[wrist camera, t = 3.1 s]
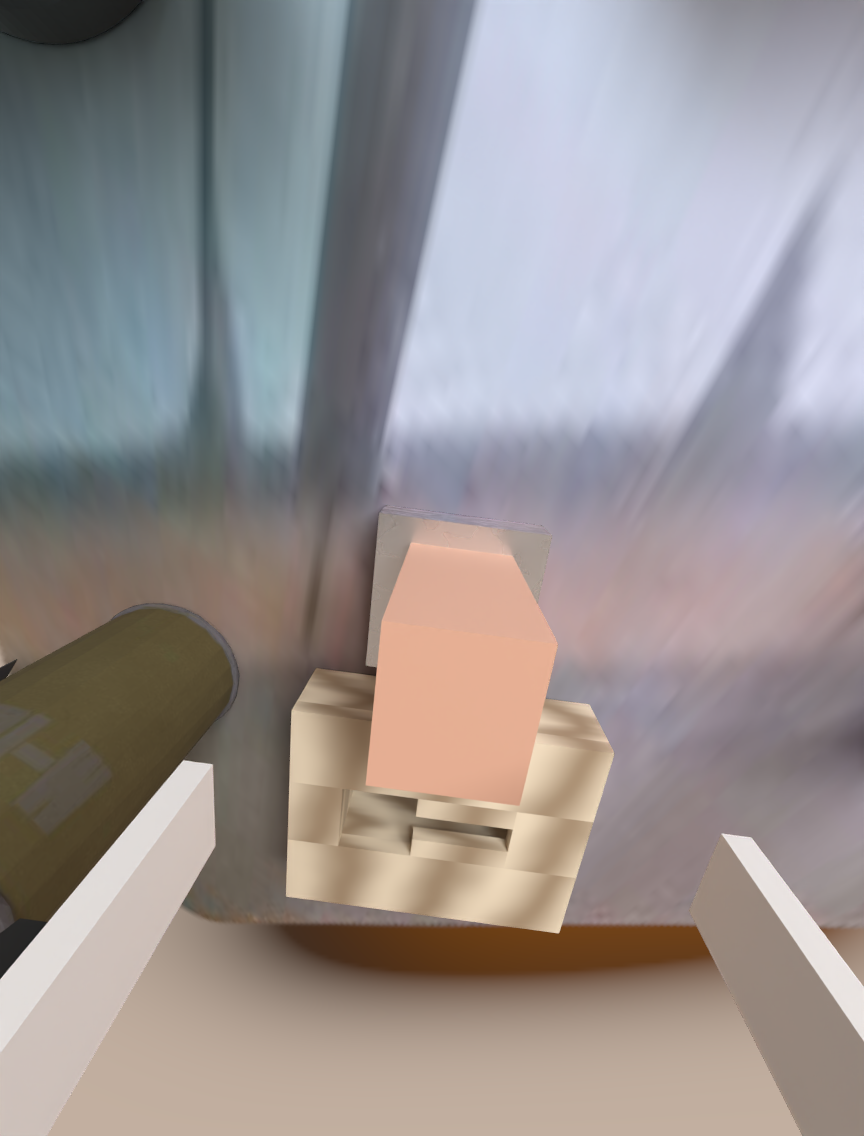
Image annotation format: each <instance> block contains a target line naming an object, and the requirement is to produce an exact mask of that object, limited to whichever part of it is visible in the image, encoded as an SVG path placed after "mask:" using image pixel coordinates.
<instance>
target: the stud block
mask: <svg viewBox="0 0 864 1136" xmlns="http://www.w3.org/2000/svg"><path fill="white" fill-rule="evenodd" d="M557 647H558V643H557V641H556V639H555V637H554V635H553V633H552V631H551V629H550V627H549V625H548V623H547V622H546V620H545V618H544V616H543V614H542V612H541V610H540V608H539V606H538V604H537V602H536V600H535V598H534V596H533V594H532V592H531V590H530V588H529V587H528V585H527V583H526V581H525V579H524V577H523V575H522V573H521V571H520V569H519V567H518V565H517V563H516V561H515V559H514V557H513V556H509V555H501V554H493V553H486V552H478V551H471V550H463V549H456V548H448V547H440V546H433V545H425V544H418V543H411V544H410V546H409V549H408V552H407V554H406V557H405V560H404V562H403V565H402V568H401V570H400V573H399V576H398V578H397V581H396V584H395V587H394V589H393V592H392V595H391V597H390V600H389V603H388V605H387V608H386V611H385V613H384V616H383V619H382V623H381V633H380V643H379V653H378V664H377V674H376V684H375V694H374V705H373V715H372V725H371V735H370V746H369V756H368V766H367V776H366V785H367V786H374V787H382V788H389V789H397V790H404V791H412V792H419V793H427V794H434V795H441V796H449V797H456V798H464V799H471V800H479V801H486V802H494V803H501V804H509V805H516V806H520V802H521V798H522V794H523V789H524V785H525V781H526V777H527V773H528V769H529V764H530V760H531V756H532V752H533V748H534V743H535V739H536V735H537V731H538V727H539V722H540V718H541V714H542V710H543V706H544V702H545V697H546V693H547V689H548V685H549V681H550V676H551V672H552V668H553V664H554V660H555V655H556V651H557Z"/></svg>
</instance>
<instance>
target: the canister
mask: <svg viewBox="0 0 864 1136" xmlns="http://www.w3.org/2000/svg"><path fill="white" fill-rule="evenodd" d="M16 661H17V659H16V660H14V661H12V662H10V663H8V664H6V665H4V666H2V667H1V668H0V933H1V932H2V931H4V930H5V929H6V928H8V927H9V926H10V925H12V924H13V923H14V922H16V921H17V920H18V919H20V918H22V919H30V920H37V921H44V922H48V921H49V920H50V919H51V918H52V917H53V915H54V914H55V913H56V912H57V911H58V909H59V908H60V907H61V906H62V905H63V903H64V902H65V901H66V900H67V899H68V897H69V896H70V895H71V894H72V893H73V891H74V890H75V889H76V888H77V887H78V885H79V884H80V883H81V882H82V880H83V879H84V878H85V877H86V876H87V874H88V873H89V872H90V871H91V870H92V868H93V867H94V866H95V865H96V864H97V862H98V861H99V860H100V859H101V858H102V856H103V855H104V854H105V853H106V852H107V850H108V849H109V848H110V847H111V846H112V844H113V843H114V842H115V841H116V839H117V838H118V837H119V836H120V835H121V833H122V832H123V831H124V830H125V829H126V827H127V826H128V825H129V824H130V823H131V821H132V820H133V819H134V818H135V817H136V815H137V814H138V813H139V812H140V811H141V809H142V808H143V807H144V806H145V805H146V803H147V802H148V801H149V800H150V798H151V797H152V796H153V795H154V794H155V792H156V791H157V790H158V789H159V788H160V786H161V785H162V784H163V783H164V782H165V780H166V779H167V778H168V777H169V776H170V774H171V773H172V772H173V771H174V770H175V768H176V767H177V766H178V765H179V764H180V762H181V761H182V760H183V759H184V757H185V756H186V755H187V754H188V753H189V751H190V750H191V749H192V748H193V747H194V745H195V744H196V743H197V742H198V741H199V739H200V738H201V737H202V736H203V735H204V733H205V732H206V731H207V730H208V729H209V727H210V726H211V725H212V724H213V723H214V722H215V721H216V720H218V719H219V718H221V717H222V716H223V715H224V714H225V713H226V712H227V711H228V710H229V708H230V706H231V705H232V703H233V701H234V699H235V698H236V694H237V689H238V683H239V672H238V667H237V663H236V660H235V657H234V655H233V652H232V650H231V648H230V646H229V645H228V643H227V642H226V640H225V639H224V637H223V636H222V635H221V634H220V633H219V632H218V631H217V630H216V629H215V628H213V627H212V626H211V625H210V624H209V623H207V622H206V621H205V620H204V619H202V618H201V617H200V616H198V615H196V614H194V613H192V612H190V611H188V610H186V609H183V608H180V607H177V606H172V605H167V604H141V605H136V606H133V607H130V608H128V609H126V610H124V611H122V612H120V613H118V614H117V615H115V616H114V617H113V618H112V619H111V620H110V621H109V622H108V623H106V624H104V625H102V626H101V627H99V628H97V629H95V630H93V631H91V632H89V633H88V634H86V635H84V636H82V637H80V638H78V639H77V640H75V641H73V642H71V643H69V644H67V645H66V646H64V647H62V648H60V649H58V650H56V651H55V652H53V653H51V654H49V655H47V656H45V657H44V658H42V659H40V660H38V661H36V662H34V663H33V664H31V665H29V666H27V667H25V668H23V669H22V670H20V671H18V672H16V673H14V674H12V675H10V676H9V677H7V676H8V674H9V672H10V671H11V669H12V667H13V666H14V664H15V662H16ZM6 677H7V678H6Z"/></svg>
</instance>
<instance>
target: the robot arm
mask: <svg viewBox="0 0 864 1136" xmlns="http://www.w3.org/2000/svg"><path fill="white" fill-rule="evenodd" d="M141 1H142V0H0V31H2V32H4V33H7V34H9V35H12V36H15V37H17V38H21V39H24V40H28V41H33V42H38V43H47V44H65V43H73V42H78V41H82V40H86V39H89V38H91V37H94V36H97V35H99V34H101V33H103V32H105V31H107V30H108V29H110V28H112V27H113V26H115V25H116V24H118V23H119V22H120V21H121V20H123V19H124V18H125V17H126V16H127V15H128V14H129V13H131V12H132V11H133V10H134V9H135V7H136V6H137V5H138V4H139V3H140V2H141ZM214 847H215V817H214V785H213V764H206V763H199V762H192V761H184V760H183V761H182V763H181V764H180V765H179V766H178V767H177V769H176V770H175V771H174V772H173V773H172V775H171V776H170V777H169V778H168V779H167V781H166V782H165V783H164V784H163V785H162V787H161V788H160V789H159V790H158V791H157V793H156V794H155V795H154V796H153V797H152V798H151V800H150V801H149V802H148V803H147V804H146V806H145V807H144V808H143V809H142V810H141V812H140V813H139V814H138V815H137V816H136V818H135V819H134V820H133V821H132V822H131V824H130V825H129V826H128V827H127V828H126V830H125V831H124V832H123V833H122V834H121V836H120V837H119V838H118V839H117V840H116V842H115V843H114V844H113V845H112V846H111V847H110V849H109V850H108V851H107V852H106V853H105V855H104V856H103V857H102V858H101V859H100V861H99V862H98V863H97V864H96V865H95V867H94V868H93V869H92V870H91V871H90V873H89V874H88V875H87V876H86V877H85V879H84V880H83V881H82V882H81V883H80V885H79V886H78V887H77V888H76V889H75V891H74V892H73V893H72V894H71V895H70V896H69V898H68V899H67V900H66V901H65V902H64V904H63V905H62V906H61V907H60V908H59V910H58V911H57V912H56V913H55V914H54V916H53V917H52V918H51V919H50V920H49V922H44V921H37V920H30V919H22V918H20V919H18V920H17V921H16V922H14V923H13V924H12V925H10V926H9V927H8V928H6V929H5V930H4V931H2V932H1V933H0V1136H47V1134H48V1133H49V1131H50V1129H51V1128H52V1126H53V1124H54V1122H55V1121H56V1119H57V1117H58V1115H59V1114H60V1112H61V1110H62V1109H63V1107H64V1105H65V1103H66V1102H67V1100H68V1098H69V1097H70V1094H71V1093H72V1091H73V1089H74V1088H75V1086H76V1084H77V1083H78V1081H79V1079H80V1078H81V1076H82V1074H83V1073H84V1071H85V1069H86V1067H87V1066H88V1064H89V1062H90V1060H91V1059H92V1057H93V1055H94V1054H95V1052H96V1050H97V1048H98V1047H99V1045H100V1043H101V1042H102V1040H103V1038H104V1036H105V1035H106V1033H107V1031H108V1030H109V1028H110V1026H111V1024H112V1023H113V1021H114V1019H115V1017H116V1016H117V1014H118V1012H119V1010H120V1009H121V1007H122V1005H123V1004H124V1002H125V1000H126V999H127V997H128V995H129V993H130V992H131V990H132V988H133V986H134V985H135V983H136V981H137V980H138V978H139V976H140V975H141V973H142V971H143V969H144V968H145V966H146V964H147V963H148V961H149V959H150V957H151V956H152V954H153V952H154V950H155V949H156V947H157V945H158V943H159V942H160V940H161V938H162V937H163V935H164V933H165V932H166V930H167V928H168V926H169V925H170V923H171V921H172V920H173V918H174V916H175V914H176V913H177V911H178V909H179V908H180V906H181V904H182V902H183V901H184V899H185V897H186V895H187V894H188V892H189V890H190V889H191V887H192V885H193V883H194V882H195V880H196V878H197V877H198V875H199V873H200V871H201V870H202V868H203V866H204V865H205V863H206V861H207V859H208V858H209V856H210V854H211V852H212V851H213V849H214ZM689 912H690V914H691V916H692V918H693V920H694V922H695V924H696V926H697V928H698V929H699V932H700V934H701V936H702V937H703V940H704V942H705V944H706V946H707V947H708V949H709V952H710V953H711V955H712V957H713V959H714V961H715V963H716V965H717V967H718V969H719V971H720V973H721V975H722V977H723V979H724V981H725V983H726V985H727V987H728V989H729V991H730V993H731V995H732V997H733V999H734V1001H735V1003H736V1005H737V1007H738V1009H739V1011H740V1013H741V1015H742V1017H743V1019H744V1021H745V1023H746V1025H747V1027H748V1029H749V1031H750V1033H751V1035H752V1037H753V1039H754V1041H755V1043H756V1045H757V1047H758V1049H759V1051H760V1053H761V1055H762V1057H763V1059H764V1061H765V1063H766V1064H767V1067H768V1068H769V1070H770V1073H771V1074H772V1076H773V1078H774V1080H775V1082H776V1084H777V1086H778V1088H779V1090H780V1092H781V1094H782V1096H783V1098H784V1100H785V1102H786V1104H787V1106H788V1108H789V1110H790V1112H791V1114H792V1116H793V1118H794V1120H795V1122H796V1124H797V1126H798V1128H799V1130H800V1132H801V1134H802V1136H864V987H863V985H862V984H861V983H860V982H859V980H858V979H857V977H856V976H855V975H854V973H853V972H852V971H851V969H850V968H849V967H848V965H847V964H846V963H845V961H844V960H843V959H842V957H841V956H840V955H839V954H838V952H837V951H836V950H835V948H834V947H833V945H832V944H831V943H830V942H829V940H828V939H827V937H826V936H825V935H824V933H823V932H822V931H821V929H820V928H819V927H818V925H817V924H816V923H815V922H814V920H813V919H812V918H811V916H810V915H809V914H808V912H807V911H806V910H805V908H804V907H803V906H802V904H801V903H800V902H799V900H798V899H797V898H796V896H795V895H794V894H793V892H792V891H791V890H790V888H789V887H788V886H787V884H786V883H785V882H784V880H783V879H782V878H781V876H780V875H779V874H778V872H777V871H776V870H775V868H774V867H773V866H772V864H771V863H770V862H769V860H768V859H767V858H766V856H765V855H764V854H763V852H762V851H761V850H760V849H759V847H758V846H757V845H756V843H755V842H754V841H753V839H752V838H750V837H743V836H735V835H728V834H721V836H720V838H719V841H718V843H717V845H716V848H715V850H714V852H713V855H712V857H711V860H710V862H709V864H708V867H707V869H706V872H705V874H704V876H703V879H702V881H701V883H700V886H699V888H698V891H697V893H696V895H695V898H694V900H693V902H692V905H691V907H690V910H689Z"/></svg>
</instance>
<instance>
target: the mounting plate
mask: <svg viewBox="0 0 864 1136" xmlns="http://www.w3.org/2000/svg"><path fill="white" fill-rule="evenodd" d="M375 684H376V676H372V675H364V674H357V673H349V672H342V671H334V670H327V669H319V668H316V669H315V671H314V673H313V674H312V676H311V678H310V680H309V681H308V683H307V685H306V686H305V688H304V690H303V692H302V693H301V695H300V697H299V699H298V700H297V702H296V704H295V705H294V707H293V709H292V713H291V746H290V780H289V813H288V847H287V880H286V897H294V898H301V899H309V900H316V901H323V902H331V903H338V904H346V905H353V906H360V907H368V908H375V909H383V910H390V911H397V912H405V913H412V914H420V915H427V916H435V917H442V918H449V919H457V920H464V921H472V922H479V923H486V924H494V925H501V926H509V927H516V928H523V929H531V930H538V931H546V932H553V933H559V931H560V928H561V925H562V922H563V918H564V915H565V912H566V909H567V905H568V902H569V899H570V896H571V892H572V889H573V886H574V883H575V880H576V876H577V873H578V870H579V867H580V863H581V860H582V857H583V854H584V851H585V847H586V844H587V841H588V838H589V834H590V831H591V828H592V825H593V821H594V818H595V815H596V812H597V809H598V805H599V802H600V799H601V796H602V792H603V789H604V786H605V783H606V780H607V776H608V773H609V770H610V767H611V763H612V760H613V757H614V752H613V750H612V748H611V746H610V744H609V742H608V740H607V738H606V736H605V734H604V732H603V730H602V728H601V726H600V724H599V722H598V720H597V719H596V717H595V715H594V713H593V711H592V709H591V707H590V705H589V704H582V703H575V702H567V701H559V700H552V699H545V702H544V706H543V710H542V714H541V718H540V722H539V727H538V731H537V735H536V739H535V743H534V748H533V752H532V756H531V760H530V764H529V769H528V773H527V777H526V781H525V785H524V789H523V794H522V798H521V802H520V806H516V805H509V804H501V803H494V802H486V801H479V800H471V799H464V798H456V797H449V796H441V795H434V794H427V793H419V792H412V791H404V790H397V789H389V788H382V787H374V786H367V785H366V776H367V766H368V756H369V746H370V735H371V725H372V715H373V705H374V694H375Z"/></svg>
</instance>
